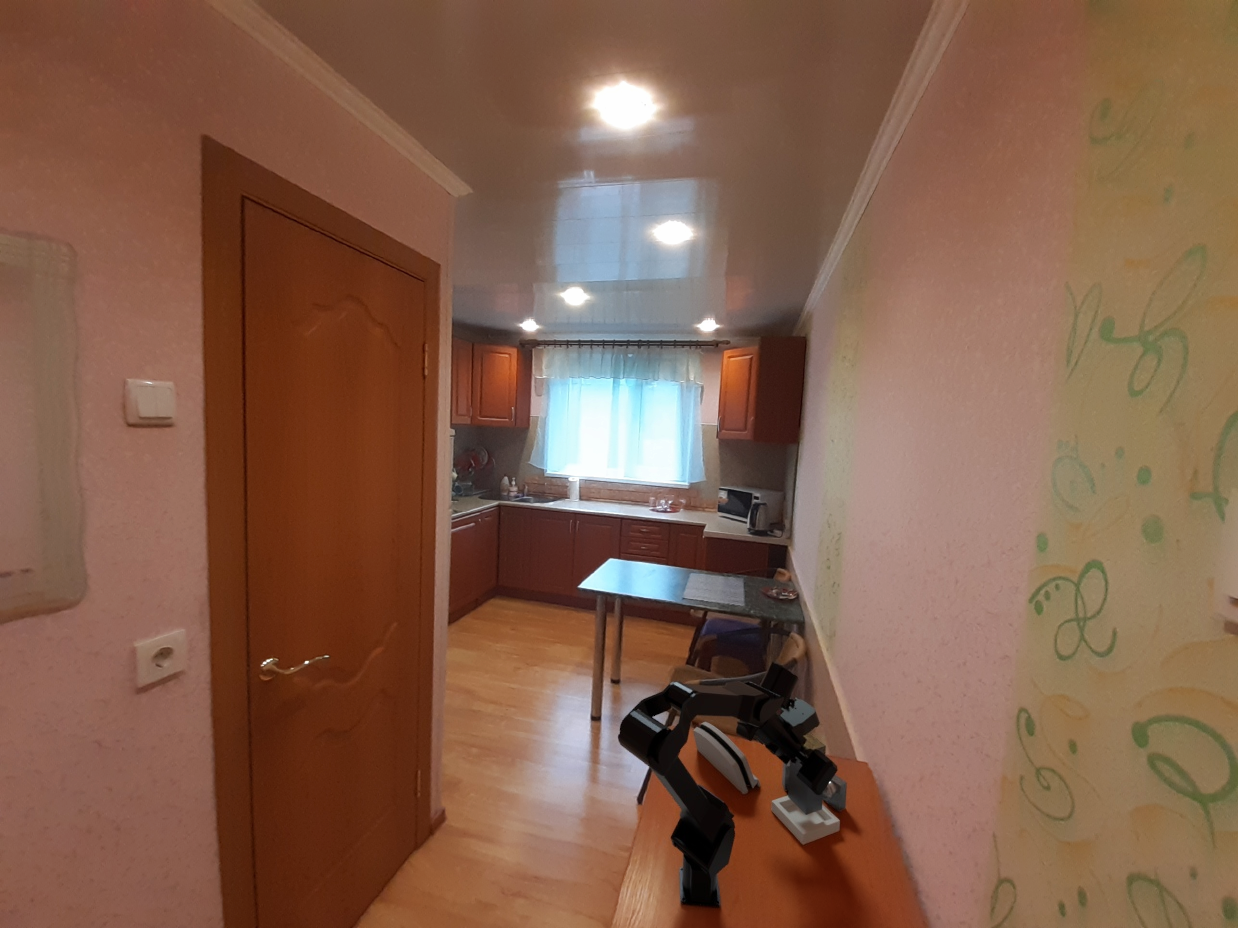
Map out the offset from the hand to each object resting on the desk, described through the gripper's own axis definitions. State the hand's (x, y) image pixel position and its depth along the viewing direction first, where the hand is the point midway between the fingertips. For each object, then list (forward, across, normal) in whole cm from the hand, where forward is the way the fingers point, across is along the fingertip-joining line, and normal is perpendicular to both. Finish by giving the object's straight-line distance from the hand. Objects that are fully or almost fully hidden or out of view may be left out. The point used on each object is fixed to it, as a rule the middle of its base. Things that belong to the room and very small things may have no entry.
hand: (812, 769), depth 100 cm
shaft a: (+12, +1, +2) cm, 12 cm away
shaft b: (+9, +7, +6) cm, 13 cm away
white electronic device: (+2, +19, +13) cm, 23 cm away
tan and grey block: (+4, 0, +6) cm, 7 cm away
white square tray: (+6, 0, +8) cm, 10 cm away
